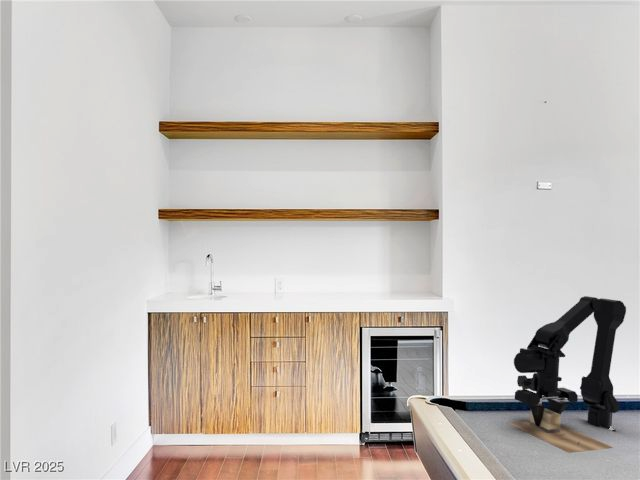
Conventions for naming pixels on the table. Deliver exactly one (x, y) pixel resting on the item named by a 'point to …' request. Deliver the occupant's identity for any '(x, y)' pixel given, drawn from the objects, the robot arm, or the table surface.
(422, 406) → the table surface
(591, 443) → the light brown wooden board
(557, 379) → the robot arm
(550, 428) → the block
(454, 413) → the table surface
